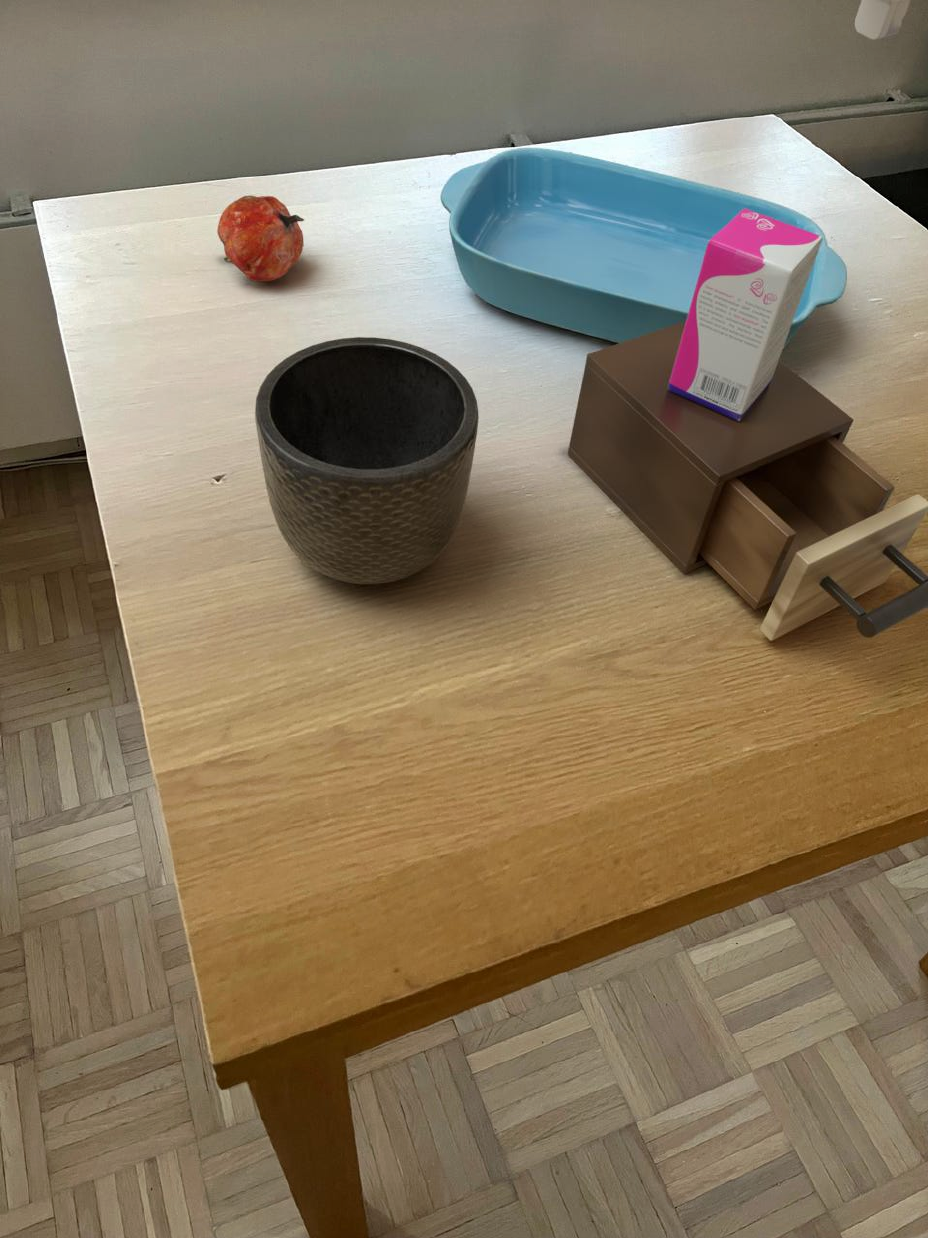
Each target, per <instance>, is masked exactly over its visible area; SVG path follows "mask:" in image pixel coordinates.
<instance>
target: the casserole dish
mask: <svg viewBox="0 0 928 1238" xmlns="http://www.w3.org/2000/svg"><path fill="white" fill-rule="evenodd" d="M440 202H441V204H442V206H443V208H444V209H445V210H446V211H447V212H448V214H450V215H449V219H448V229H449V235H450V238H451V243H452V248H453V251H454V255H455V259H456V262H457V265H458V268H459V271H460V275H461V276H462V278H463V280H464V282H465V284H466V285H467V287H468V288H469V289H470V290H472V292H473V293H474V294H476V296H478V297H479V298H480V299H482V300H483V301H484V302H486V303H488V304H490V305H491V306H493V307H496V308H499V309H501V310H503V311H506V312H508V313H511V314H513V315H517V316H521V317H524V318H526V319H530V320H533V321H537V322H540V323H544V324H546V325H550V326H555V327H557V328H561V329H565V330H568V331H572V332H576V333H579V334H583V335H586V336H589V337H590V336H591V337H594V338H598V339H602V340H607V341H610V342H612V343H616V344H619V343H622V342H625V341H628V340H631V339H634V338H637V337H640V336H643V335H646V334H649V333H651V332H654V331H657V330H660V329H663V328H666V327H669V326H672V325H675V324H678V323H681V322H684V321H686V320H687V316H688V313H689V309H690V305H691V302H692V298H693V294H694V291H695V287H696V284H697V280H698V277H699V273H700V270H701V266H702V262H703V258H704V255H705V251H706V247H707V244H708V241H709V240H710V239H711V238H712V237H714V236H715V235H716V234H717V233H718V232H719V231H720V230H721V229H723V228H724V227H725V226H726V225H727V224H728V223H729V222H730V221H731V220H733V218H734V217H735V216H736V215H737V214H738V213H739V212H741V211H742V210H743V209H745V208H746V209H748V210H751V211H753V212H756V213H759V214H762V215H765V216H767V217H770V218H773V219H776V220H778V221H781V222H784V223H787V224H789V225H792V226H795V227H797V228H800V229H803V230H806V231H809V232H811V233H814V234H817V235H820V236H822V237H823V239H822V243H821V246H820V248H819V251H818V254H817V256H816V259H815V262H814V265H813V267H812V270H811V273H810V276H809V278H808V281H807V283H806V286H805V289H804V292H803V295H802V297H801V300H800V303H799V306H798V308H797V311H796V314H795V316H794V319H793V322H792V325H791V327H790V330H789V333H788V336H787V338H786V341H785V344H784V347H783V349H784V348H785V347H786V346H787V345H788V344H789V342H791V340H792V339H793V337H794V336H795V335H796V334H797V333H798V332H799V330H800V329H801V327H802V326H803V325H804V324H805V322H806V321H807V320H808V319H809V317H810V316H811V315H812V314H813V312H814V311H815V310H816V309H817V308H821V307H826V306H829V305H831V304H834V303H836V302H837V301H839V300H840V299H841V298H842V297H843V295H844V293H845V291H846V287H847V281H848V269H847V265H846V263H845V261H844V260H843V259H842V257H841V256H840V255H839V254H838V253H837V252H836V251H834V249H833V248H831V247H830V246H829V245H828V241H827V238H826V235H825V233H824V232H823V230H822V228H821V227H820V226H819V225H818V224H817V223H816V222H814V221H813V220H812V219H810V218H809V217H808V216H806V215H804V214H803V213H801V212H799V211H796V210H794V209H792V208H790V207H787V206H784V205H781V204H779V203H776V202H772V201H769V200H766V199H762V198H759V197H755V196H752V195H750V194H749V195H748V194H745V193H741V192H737V191H733V190H729V189H725V188H722V187H717V186H714V185H709V184H705V183H700V182H697V181H693V180H688V179H685V178H681V177H676V176H672V175H669V174H663V173H659V172H656V171H651V170H647V169H642V168H639V167H635V166H631V165H626V164H622V163H619V162H614V161H609V160H605V159H601V158H598V157H592V156H588V155H583V154H578V153H573V152H569V151H564V150H558V149H551V148H542V147H518V148H512V149H508V150H504V151H501V152H499V153H497V154H495V155H493V156H492V157H490V158H489V159H487V160H485V161H482V162H479V163H475V164H472V165H469V166H466V167H464V168H461V169H459V170H458V171H456V172H454V173H453V174H452V175H451V176H450V177H449V178H448V179H447V181H446V182H445V183H444V185H443V187H442V189H441V192H440Z"/></svg>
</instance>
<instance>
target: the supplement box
mask: <svg viewBox="0 0 928 1238" xmlns="http://www.w3.org/2000/svg"><path fill="white" fill-rule="evenodd" d="M822 239H823V237H822V236H820V235H817V234H814V233H811V232H809V231H806V230H803V229H800V228H797V227H795V226H792V225H789V224H787V223H784V222H781V221H778V220H776V219H773V218H770V217H767V216H765V215H762V214H759V213H756V212H753V211H751V210H748V209H746V208H745V209H743V210H742V211H741V212H739V213H738V214H737V215H736V216H735V217H734V218H733V220H731V221H730V222H729V223H728V224H727V225H726V226H725V227H724V228H723V229H721V230H720V231H719V232H718V233H717V234H716V235H715V236H714V237H712V238H711V239H710V240H709V241H708V244H707V247H706V251H705V255H704V258H703V262H702V266H701V270H700V273H699V277H698V280H697V284H696V287H695V291H694V294H693V298H692V302H691V305H690V309H689V313H688V316H687V320H686V323H685V327H684V331H683V334H682V338H681V342H680V345H679V349H678V352H677V356H676V359H675V363H674V366H673V370H672V374H671V377H670V381H669V384H668V390H669V391H671V392H673V393H676V394H678V395H680V396H683V397H685V398H687V399H689V400H692V401H694V402H696V403H698V404H701V405H703V406H705V407H707V408H710V409H712V410H714V411H716V412H719V413H721V414H723V415H725V416H727V417H729V418H732V419H734V420H736V421H740V420H741V419H742V418H743V416H744V415H745V414H746V413H747V411H748V410H749V409H750V408H751V406H752V405H753V404H754V402H755V401H756V400H757V399H758V398H759V397H760V396H761V394H762V393H763V392H764V391H765V390H766V388H767V387H768V386H769V385H770V383H771V381H772V377H773V374H774V372H775V369H776V366H777V363H778V360H780V358H781V355H782V352H783V349H784V348H785V347H784V344H785V341H786V338H787V336H788V333H789V330H790V327H791V325H792V322H793V319H794V316H795V314H796V311H797V308H798V306H799V303H800V300H801V297H802V295H803V292H804V289H805V286H806V283H807V281H808V278H809V276H810V273H811V270H812V267H813V265H814V262H815V259H816V256H817V254H818V251H819V248H820V246H821V243H822ZM783 347H784V348H783Z"/></svg>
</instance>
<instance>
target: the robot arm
mask: <svg viewBox="0 0 928 1238" xmlns="http://www.w3.org/2000/svg"><path fill="white" fill-rule="evenodd" d="M911 1H912V0H860V4H859V7H858V10H857V13H856V17H855V20H854V28H855V30H856V32H857V33H858V34H861V35H862V36H864V37H865V38H868V39H869V40H872V41H873V40H880V39H885V38H888V37H892V36H896V35H897V34H898V33H899V32H900V30H901V28H902V26H903V19H904V18H905V16H906V15H907V12H908V9H909V7H910V3H911Z"/></svg>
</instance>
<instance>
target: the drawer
mask: <svg viewBox="0 0 928 1238" xmlns="http://www.w3.org/2000/svg"><path fill="white" fill-rule="evenodd" d="M895 487H896V486H895V485H894V484H893V483H892V482H890V481H889V480H888V479H887V478H885V477H884V475H882V474H880V473H879V472H878V471H877V470H876V469H874V468H873V467H872V466H871V465H870V464H869V463H867V462H866V461H864V460H863V459H862V458H861V457H860V456H859V455H857V454H856V453H855V452H854V451H852V450H851V449H850V448H849V447H848V446H846V444H844V442H843V443H841V442H840V441H839V440H838V439H837V438H835V437H834V436H830V437H828V438H826V439H823V440H821V441H819V442H816V443H814V444H812V445H809V446H807V447H805V448H802V449H800V450H798V451H795V452H793V453H791V454H788V455H786V456H784V457H781V458H779V459H777V460H774V461H772V462H769V463H767V464H765V465H762V466H760V467H758V468H755V469H753V470H751V471H748V472H746V473H744V474H741V475H739V476H737V477H734V478H732V479H730V480H727V481H725V482H724V485H723V488H722V490H721V493H720V496H719V498H718V501H717V504H716V507H715V509H714V512H713V515H712V517H711V520H710V523H709V526H708V528H707V531H706V534H705V537H704V539H703V542H702V545H701V547H700V550H699V554H700V555H701V556H702V557H703V558H704V559H705V560H706V561H707V562H708V565H709V566H710V567H712V568H713V570H715V571H716V572H717V574H718V575H719V576H721V577H722V579H723V580H725V581H726V582H727V583H728V585H730V587H732V588H733V589H734V590H735V591H736V593H738V595H739V596H740V597H742V599H744V601H746V603H747V604H749V606H751V608H753V610H758V609H760V608H761V607H763V606H765V605H766V606H767V604H770V603H771V604H770V607H769V609H768V611H767V613H766V615H765V617H764V619H763V621H762V623H761V625H760V628H759V631H760V632H761V633H762V634H763V635H764V636H765V637H766V638H767V639H768V640H769V641H770V642H773V641H775V640H776V639H778V638H780V637H782V636H785V635H786V634H788V633H789V632H792V631H793V630H795V629H798V628H800V627H801V626H803V625H806V624H807V623H809V622H811V621H813V620H816V619H817V618H818V617H820V616H823V615H824V614H826V613H828V612H830V611H832V610H834V609H836V608H837V607H839V606H841V607H842V608H843V609H844V610H845V611H846V612H848V614H849V615H850V616H852V618H853V619H855V620H856V622H855V626H856V629H857V631H858V633H859V634H860V635H861V636H863V637H864V638H866V639H871V638H873V637H875V636H877V635H880V634H881V633H883V632H885V631H886V630H888V629H890V628H892V627H894V626H895V625H897V624H899V623H901V622H903V621H904V620H907V619H909V618H910V617H913V616H915V614H918V613H920V612H922V611H923V610H925V609H927V608H928V575H927V574H926V573H925V572H924V571H923V570H921V569H920V567H918V566H917V565H916V564H914V563H913V561H911V560H910V559H909V558H907V556H905V555H904V554H903V553H904V551H905V550H906V548H907V547H908V544H909V543H910V541H911V540H912V539H913V536H914V534H915V533H916V531H917V530H918V528H919V526H920V525H921V523H922V521H923V519H924V518H925V516H926V514H927V513H928V500H927V499H925V498H924V497H923V496H921V494H919V493H917V494H915V495H913V496H910V497H908V498H907V499H904V500H902V501H899V502H898V503H896V504H894V505H892V506H890V507H888V508H885V507H886V505H887V503H888V501H889V499H890V497H891V495H892V494H893V492H894V490H895ZM896 566H897V568H898V569H900V570H901V571H902V572H903V573H904V574H906V575H907V576H908V577H909V578H910V579H911V580H913V581H914V582H915V583H916V584H917V585H916V586H915V587H913V588H910V589H908V590H906V591H904V592H903V593H900V594H899V595H898V596H896V597H894V598H892V599H890V600H888V601H886V602H884V603H882V604H880V605H879V606H877V607H875V608H873V609H871V610H869V611H867V610H866V609H865V608H864V607H863V606H862V605H860V603H858V602H857V601H856V600H855V598H857V597H859V596H861V595H863V594H864V593H866V592H868V591H871V590H873V589H874V588H876V587H878V586H880V585H882V584H884V583H886V582H887V580H888V579H889V576H890V575H891V573H892V572H893V570H894V568H895V567H896Z"/></svg>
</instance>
